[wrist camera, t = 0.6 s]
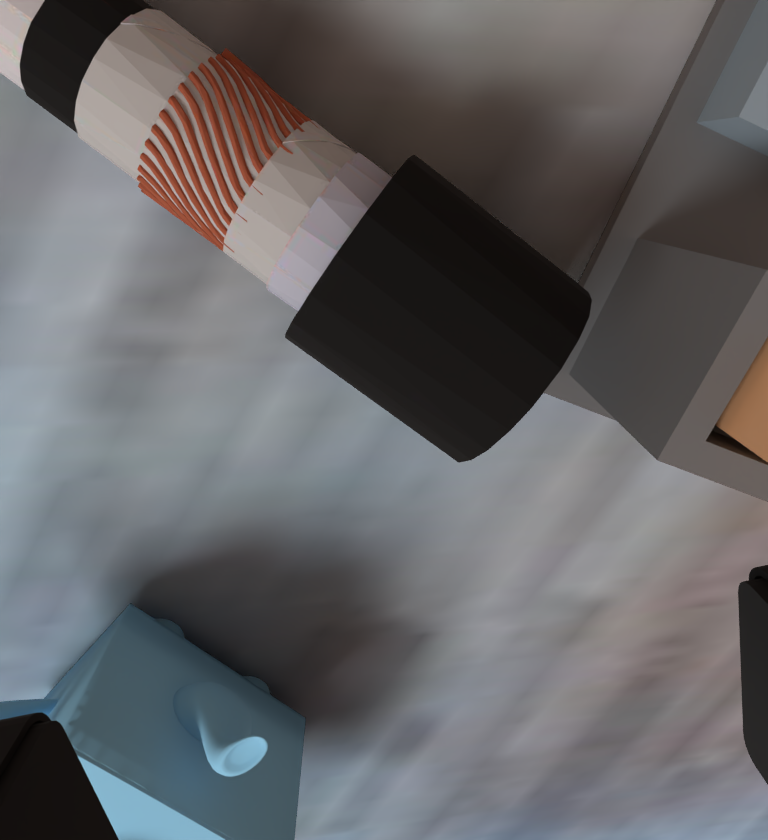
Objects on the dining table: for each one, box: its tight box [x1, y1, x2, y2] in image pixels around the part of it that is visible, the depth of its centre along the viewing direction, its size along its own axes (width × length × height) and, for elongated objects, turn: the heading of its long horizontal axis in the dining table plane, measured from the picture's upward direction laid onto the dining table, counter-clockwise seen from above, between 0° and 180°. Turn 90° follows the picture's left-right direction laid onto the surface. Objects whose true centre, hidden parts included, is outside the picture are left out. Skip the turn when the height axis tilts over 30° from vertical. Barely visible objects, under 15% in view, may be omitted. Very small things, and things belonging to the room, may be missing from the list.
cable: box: [0, 0, 592, 462], centre depth 31 cm, size 10×34×10 cm, turn 54°
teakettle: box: [0, 603, 306, 840], centre depth 40 cm, size 19×19×15 cm
